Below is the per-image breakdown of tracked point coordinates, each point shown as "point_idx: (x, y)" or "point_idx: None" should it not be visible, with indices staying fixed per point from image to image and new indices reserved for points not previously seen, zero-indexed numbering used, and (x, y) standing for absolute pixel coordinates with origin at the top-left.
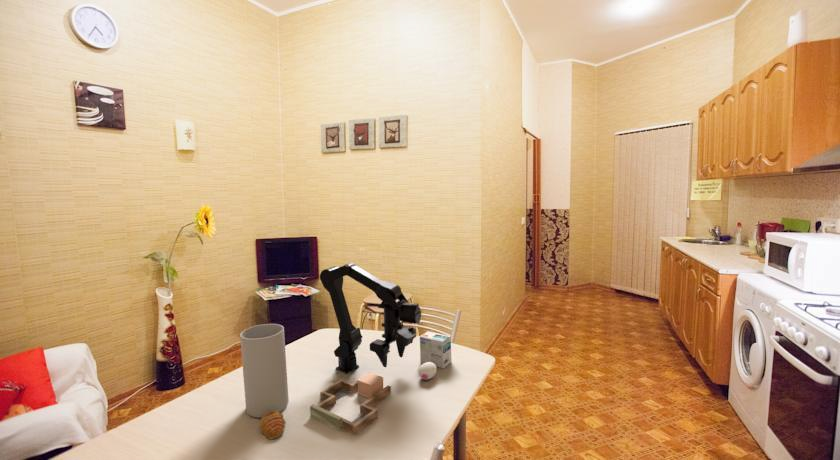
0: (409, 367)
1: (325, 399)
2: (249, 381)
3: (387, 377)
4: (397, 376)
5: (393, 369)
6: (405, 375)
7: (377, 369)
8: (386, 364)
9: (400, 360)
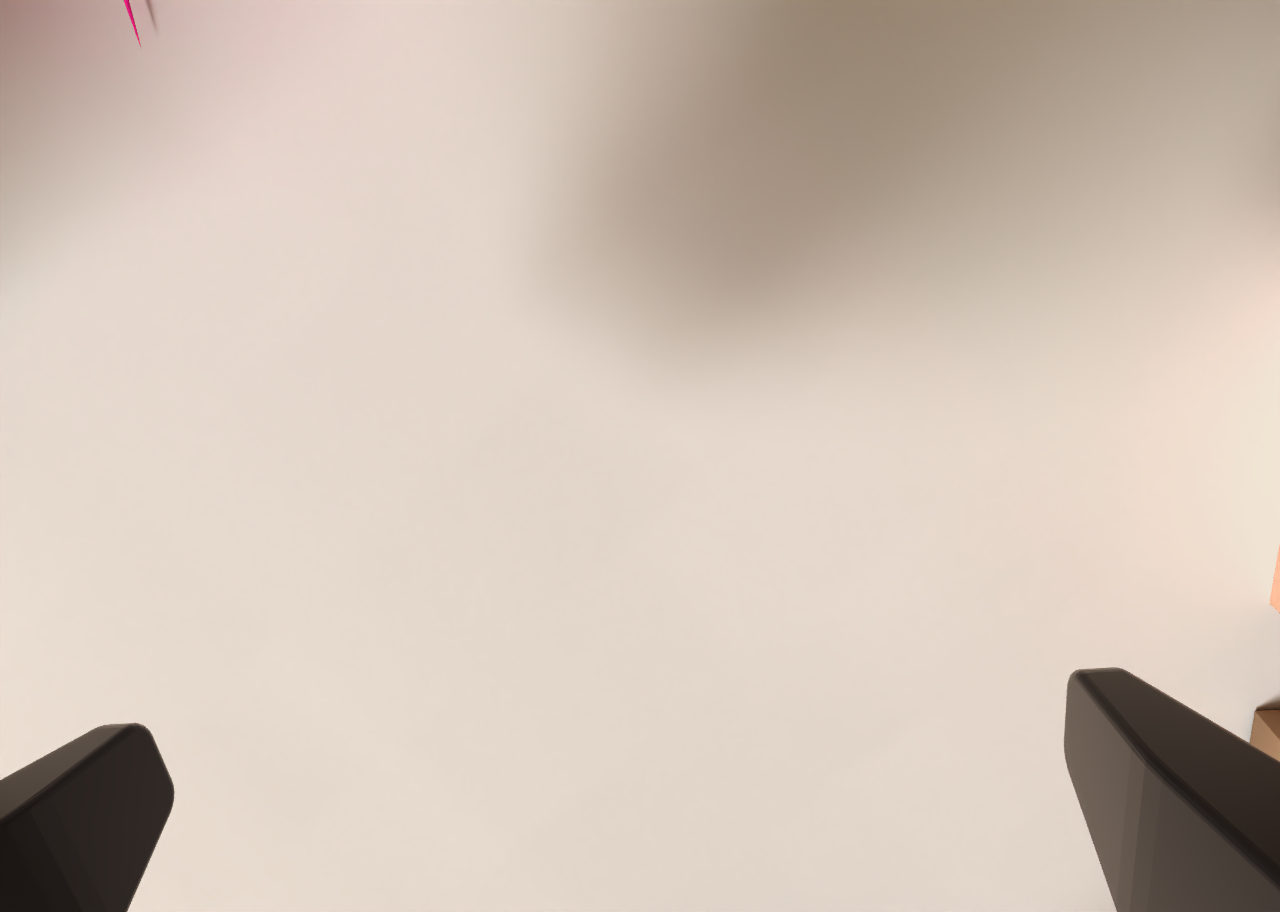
0: (107, 488)
1: None
2: None
3: (754, 563)
4: (573, 424)
5: (426, 682)
6: (407, 307)
7: (645, 890)
8: (1165, 732)
9: None
